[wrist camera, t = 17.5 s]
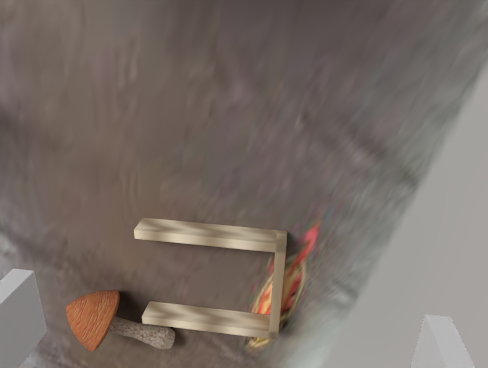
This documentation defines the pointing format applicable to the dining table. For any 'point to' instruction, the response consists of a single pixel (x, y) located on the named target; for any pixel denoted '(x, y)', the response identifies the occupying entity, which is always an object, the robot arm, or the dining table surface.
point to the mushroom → (111, 322)
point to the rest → (220, 238)
